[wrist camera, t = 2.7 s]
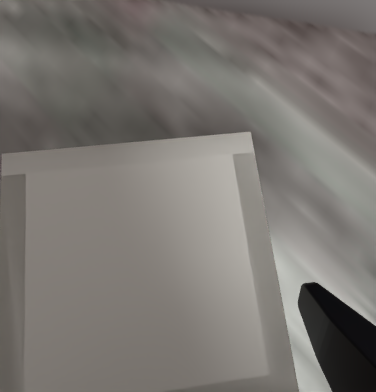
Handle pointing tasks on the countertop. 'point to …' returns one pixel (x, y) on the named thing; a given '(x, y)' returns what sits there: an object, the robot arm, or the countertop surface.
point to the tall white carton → (140, 270)
